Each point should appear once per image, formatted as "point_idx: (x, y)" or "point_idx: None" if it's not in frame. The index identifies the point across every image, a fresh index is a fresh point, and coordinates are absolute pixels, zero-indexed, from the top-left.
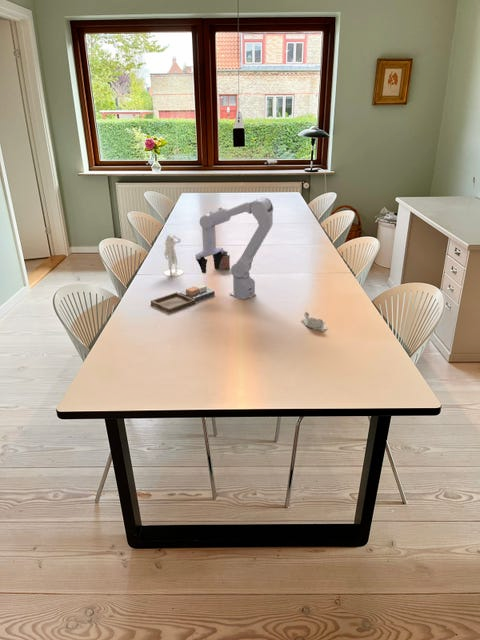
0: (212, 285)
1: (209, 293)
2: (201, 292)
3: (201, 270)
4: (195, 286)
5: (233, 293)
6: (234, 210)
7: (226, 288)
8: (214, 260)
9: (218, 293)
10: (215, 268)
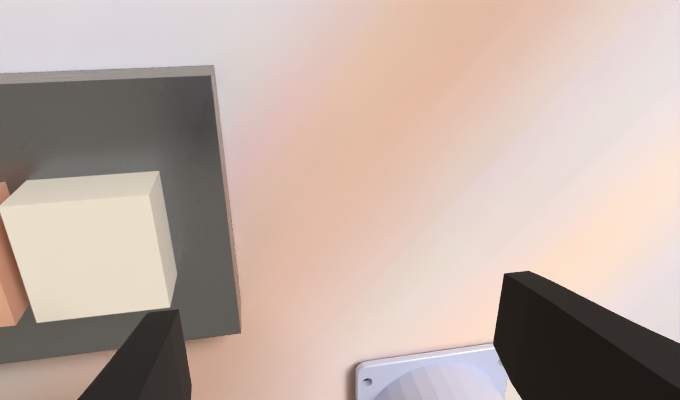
0: (422, 57)
1: None
2: None
3: (125, 346)
4: (20, 225)
5: (382, 390)
6: None
7: (453, 232)
8: (639, 392)
9: (302, 287)
10: (505, 297)
